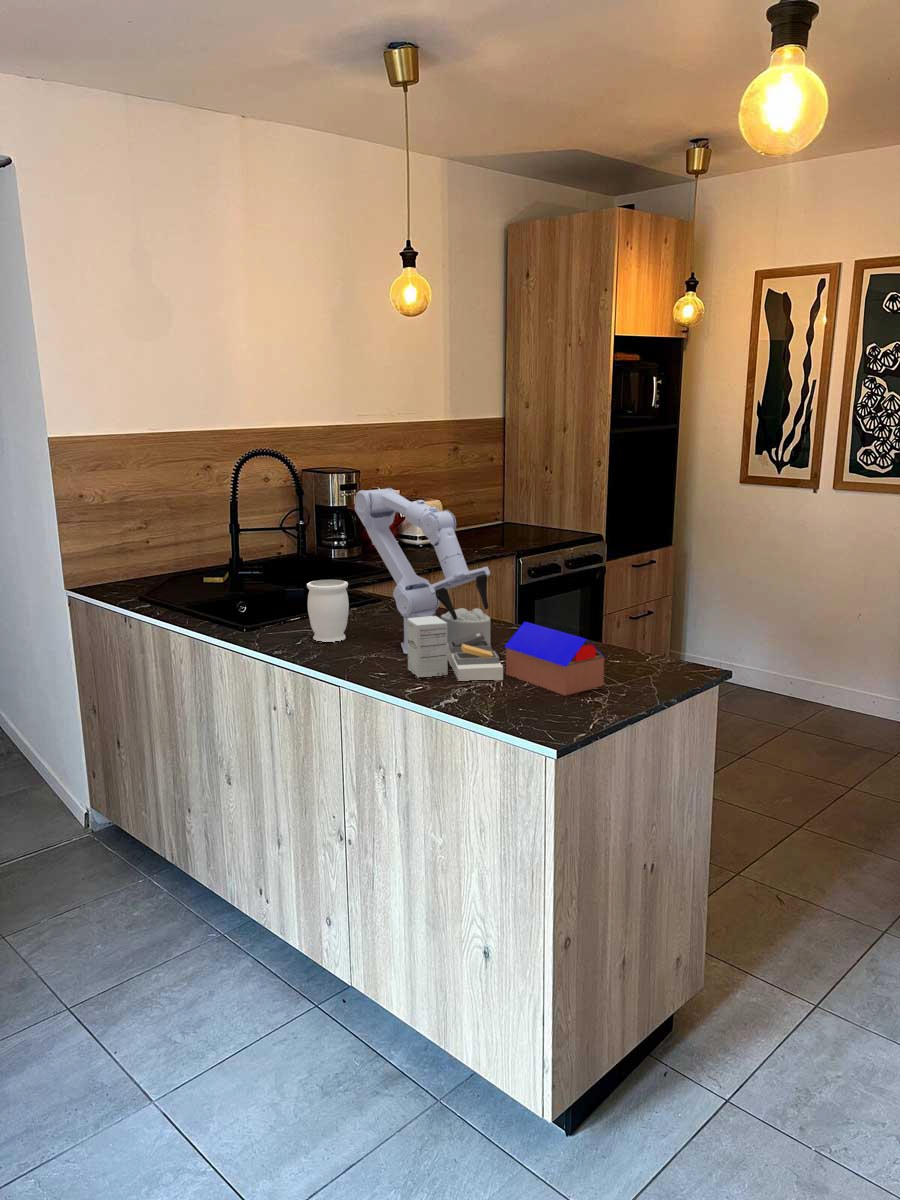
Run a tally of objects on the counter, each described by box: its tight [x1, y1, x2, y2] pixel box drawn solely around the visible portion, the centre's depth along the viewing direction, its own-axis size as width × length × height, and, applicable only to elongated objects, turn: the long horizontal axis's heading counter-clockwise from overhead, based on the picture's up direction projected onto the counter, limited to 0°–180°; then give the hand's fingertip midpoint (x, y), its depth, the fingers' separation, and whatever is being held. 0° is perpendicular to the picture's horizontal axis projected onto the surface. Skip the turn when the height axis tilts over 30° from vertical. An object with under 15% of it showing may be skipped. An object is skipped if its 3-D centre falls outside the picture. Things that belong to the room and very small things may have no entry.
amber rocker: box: [461, 644, 493, 658], centre depth 208 cm, size 4×7×1 cm, turn 98°
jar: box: [306, 579, 350, 643], centre depth 238 cm, size 11×10×15 cm
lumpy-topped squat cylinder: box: [440, 607, 491, 644], centre depth 233 cm, size 10×13×9 cm
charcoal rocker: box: [454, 632, 485, 647], centre depth 217 cm, size 4×7×1 cm, turn 98°
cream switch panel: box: [447, 640, 504, 682], centre depth 213 cm, size 22×10×4 cm, turn 8°
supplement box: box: [407, 615, 449, 679], centre depth 208 cm, size 7×7×13 cm
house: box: [504, 621, 607, 696], centre depth 202 cm, size 12×20×12 cm, turn 37°
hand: (471, 613), depth 211 cm, fingers open, 7 cm apart
